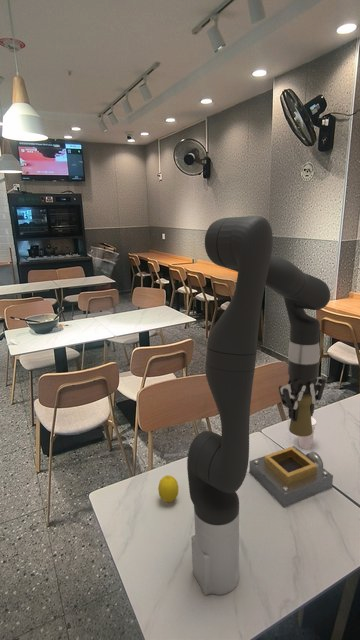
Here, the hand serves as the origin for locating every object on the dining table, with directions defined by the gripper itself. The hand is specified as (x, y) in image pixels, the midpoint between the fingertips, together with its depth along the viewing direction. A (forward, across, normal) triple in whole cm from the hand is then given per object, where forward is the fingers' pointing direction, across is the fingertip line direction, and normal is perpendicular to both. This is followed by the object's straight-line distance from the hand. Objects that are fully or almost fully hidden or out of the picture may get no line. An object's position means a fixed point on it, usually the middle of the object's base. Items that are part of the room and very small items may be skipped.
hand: (301, 417), depth 98 cm
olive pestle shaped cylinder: (+4, 0, 0) cm, 4 cm away
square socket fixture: (+23, 0, +4) cm, 23 cm away
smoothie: (+23, +16, +16) cm, 32 cm away
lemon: (+23, -35, +12) cm, 43 cm away
